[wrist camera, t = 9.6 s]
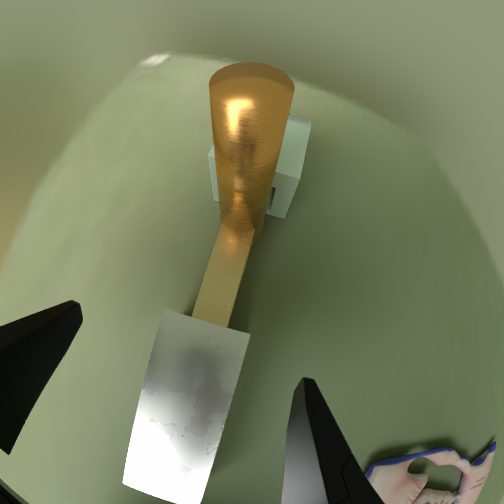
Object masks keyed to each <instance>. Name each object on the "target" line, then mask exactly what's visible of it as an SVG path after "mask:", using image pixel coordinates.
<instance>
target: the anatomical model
mask: <svg viewBox="0 0 504 504" xmlns="http://www.w3.org/2000/svg"><path fill="white" fill-rule="evenodd" d="M495 448H496V441H495V442H494V443H493V444H492V445H491V446H490V447H489V448H488V449H487V450H486V451H485V452H484V453H483V454H482V455H481V456H479V457H478V458H477V459H476V460H474V461H473V462H472V463H471V464H470V462H469V459H468V458H467V457H463V456H460V455H459V454H458V453H457V452H456V451H455V450H454V449H453V448H451V447H443V448H436V449H433V450H427V451H424V452H420V453H416V454H411V455H406V456H401V457H396V458H389V459H385V460H381V461H379V462H376V463H374V464H372V465H371V466H370V468H369V469H368V471H367V473H366V474H365V476H366V478H367V479H368V481H369V482H370V483H371V485H372V486H373V488H374V489H375V491H376V492H377V493H378V495H379V496H380V497H381V499H382V500H383V502H384V503H385V504H451V503H452V502H453V501H454V503H453V504H475V502H476V500H477V498H478V496H479V494H480V492H481V490H482V488H483V485H484V483H485V481H486V478H487V476H488V474H489V471H490V468H491V465H492V461H493V457H494V453H495ZM419 456H422V457H425V458H427V459H429V460H431V461H432V462H434V463H435V464H436V465H450V464H452V465H454V466H456V467H458V468H459V469H460V470H461V471H462V472H463V476H462V479H461V482H460V486H459V489H458V491H457V493H456V495H452V493H451V492H450V491H440V490H432V489H429V488H426V489H423V488H424V486H425V485H426V483H427V480H428V474H427V473H422V474H411V473H409V472H408V471H407V470H408V466H409V464H410V463H411V462H412V461H413V460H414V459H415V458H417V457H419ZM422 489H423V490H422ZM459 493H460V494H459Z"/></svg>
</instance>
